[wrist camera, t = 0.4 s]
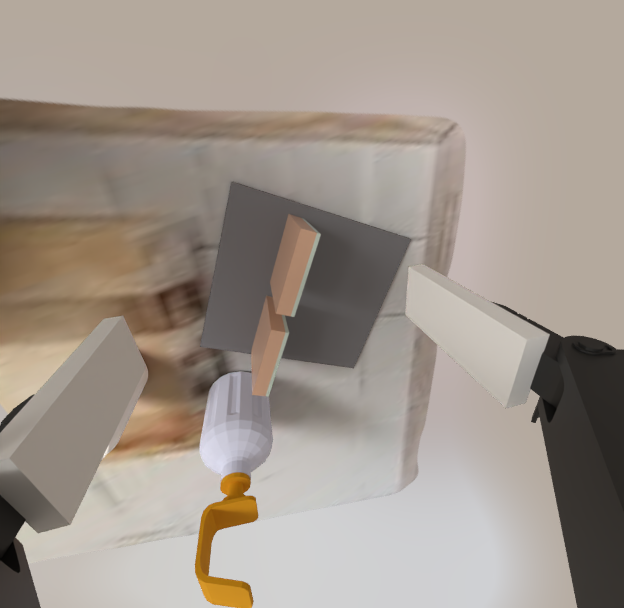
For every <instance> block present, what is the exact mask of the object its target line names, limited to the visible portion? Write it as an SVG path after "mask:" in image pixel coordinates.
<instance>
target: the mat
mask: <svg viewBox="0 0 624 608" xmlns="http://www.w3.org/2000/svg"><path fill="white" fill-rule="evenodd" d="M288 214H291V215H294V216H297V217H300V218H304V219H305V220H306V221H307V222H308V223H309V224H311V225H312V226H313V227H314V228H315V229H316V230H317V231H318V232H319V233H320V234H321V236H320V239H319V242H318V245H317V248H316V251H315V254H314V257H313V261H312V264H311V267H310V270H309V273H308V276H307V279H306V282H305V285H304V289H303V292H302V295H301V298H300V301H299V304H298V307H297V310H296V313H295V316H294V317H291V316H286V315H285V318H286V322H287V326H288V330H289V335H288V338H287V341H286V344H285V347H284V351H283V354H282V357H281V358H285V359H292V360H299V361H306V362H313V363H320V364H327V365H335V366H342V367H349V368H354V366H355V364H356V362H357V359H358V357H359V355H360V353H361V350H362V348H363V346H364V344H365V341H366V339H367V337H368V335H369V332H370V330H371V328H372V326H373V323H374V321H375V319H376V317H377V314H378V312H379V310H380V308H381V305H382V303H383V301H384V299H385V296H386V294H387V292H388V290H389V287H390V285H391V283H392V281H393V278H394V276H395V274H396V272H397V269H398V267H399V265H400V262H401V260H402V258H403V256H404V253H405V251H406V249H407V247H408V244H409V242H410V240H411V239H409V238H407V237H403V236H400V235H397V234H394V233H391V232H388V231H385V230H381V229H378V228H375V227H372V226H369V225H366V224H363V223H360V222H356V221H353V220H350V219H347V218H344V217H341V216H338V215H335V214H331V213H328V212H325V211H322V210H319V209H316V208H313V207H310V206H306V205H303V204H300V203H297V202H294V201H291V200H288V199H285V198H281V197H278V196H275V195H272V194H269V193H266V192H263V191H260V190H256V189H253V188H250V187H247V186H244V185H241V184H238V183H234V182H231V187H230V193H229V198H228V203H227V208H226V214H225V219H224V224H223V229H222V234H221V240H220V245H219V250H218V255H217V261H216V266H215V271H214V276H213V282H212V287H211V292H210V297H209V302H208V308H207V313H206V318H205V323H204V329H203V334H202V339H201V344H200V347H206V348H213V349H220V350H227V351H234V352H242V353H249V354H251V350H252V346H253V343H254V339H255V335H256V332H257V328H258V324H259V321H260V317H261V313H262V310H263V306H264V302H265V299H266V296H270V297H273V296H272V290H271V285H270V280H271V276H272V273H273V269H274V265H275V262H276V258H277V254H278V251H279V247H280V243H281V240H282V236H283V232H284V229H285V225H286V221H287V218H288Z"/></svg>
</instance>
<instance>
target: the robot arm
mask: <svg viewBox="0 0 624 608" xmlns="http://www.w3.org/2000/svg"><path fill="white" fill-rule="evenodd" d="M405 315H406V316H407V317H408V318H409V319H410V320H411V321H412V322H413V323H414V324H416V325H417V326H418V327H419V328H420V329H421V330H422V331H423V332H424V333H425V334H426V335H427V336H428V337H430V338H431V339H432V340H433V341H434V342H435V343H436V344H437V345H438V346H439V347H440V348H442V349H443V351H445V352H446V353H447V354H448V355H449V356H450V357H451V358H452V359H453V360H454V361H455V362H457V364H459V365H460V366H461V367H462V368H463V369H464V370H465V371H466V372H467V373H468V374H469V375H470V376H472V378H474V379H475V380H476V381H477V382H478V383H479V384H480V385H481V386H482V387H483V388H484V389H485V390H486V391H488V392H489V393H490V394H491V395H492V396H493V397H494V398H495V399H496V400H497V401H498V402H499V403H500V404H501V405H503V406H504V407H505V408H509V407H513V406H517V405H521V404H524V403H526V401H527V398H528V395H529V392H530V389H532V390H533V391H534V392H535V393H537V394H538V395H539V396H540V398H539V400H538V403H537V406H536V408H535V411H534V413H533V416H532V421H531V422H533V423H536V420H537V418H538V417H540V421H541V425H542V431H543V436H544V441H545V446H546V451H547V456H548V461H549V466H550V471H551V476H552V482H553V487H554V492H555V496H556V502H557V507H558V511H559V517H560V522H561V527H562V532H563V537H564V542H565V547H566V552H567V557H568V562H569V568H570V573H571V577H572V583H573V587H574V593H575V598H576V603H577V607H578V608H624V350H616V349H615V348H614V347H612V346H611V345H609V344H607V343H605V342H602V341H599V340H597V339H593V338H589V337H584V336H568V337H565V338H563V337H561V336H560V335H558V334H556V333H554V332H552V331H550V330H549V329H547V328H545V327H543V326H541V325H539V324H537V323H536V322H534V321H532V320H530V319H527V318H526V317H524V316H523V315H521V314H517V312H515V311H513V310H511V309H510V308H508V307H506V306H503V305H500V304H497V303H494V302H490V301H488V300H487V299H485V298H483V297H481V296H480V295H478V294H476V293H474V292H472V291H471V290H469V289H467V288H465V287H463V286H462V285H460V284H457V283H456V282H454V281H453V280H451V279H449V278H447V277H445V276H444V275H442V274H440V273H438V272H436V271H434V270H433V269H431V268H429V267H427V266H425V265H424V264H420V265H414V266H409V268H408V283H407V298H406V313H405ZM146 367H147V366H146V364H145V362H144V360H143V358H142V356H141V353H140V351H139V349H138V347H137V345H136V343H135V340H134V338H133V336H132V334H131V332H130V330H129V327H128V325H127V323H126V321H125V319H124V317H123V316H118V317H112V318H106V319H103V320H102V321H101V322H100V323H99V325H98V326H97V327H96V328H95V329H94V330H93V331H92V332H91V333H90V334H89V336H88V337H87V338H86V339H85V340H84V341H83V342H82V343H81V344H80V345H79V347H78V348H77V349H76V350H75V351H74V352H73V353H72V354H71V355H70V356H69V358H68V359H67V360H66V361H65V362H64V363H63V364H62V365H61V366H60V367H59V369H58V370H57V371H56V372H55V373H54V374H53V375H52V376H51V377H50V379H49V380H48V381H47V382H46V383H45V384H44V385H43V386H42V387H41V388H40V390H39V391H38V392H37V393H36V394H34V395H32V396H30V397H29V398H28V399H26V400H25V401H24V402H22V403H21V404H19V405H18V406H17V407H15V408H14V409H13V410H12V411H11V412H10V413H9V414H8V415H7V416H6V418H5V419H4V420H3V421H2V422H1V425H0V608H41V607H40V604H39V600H38V597H37V593H36V590H35V586H34V583H33V580H32V576H31V572H30V569H29V565H28V562H27V559H26V555H25V552H24V548H23V545H22V544H21V543H20V542H19V540H17V539H16V538H15V537H16V535H17V533H18V532H19V530H20V528H21V527H22V525H23V524H24V522H25V521H26V522H27V523H28V524H29V525H30V526H31V527H32V528H33V529H34V530H35V531H36V532H37V533H41V532H45V531H48V530H52V529H56V528H60V527H63V526H67V525H70V524H71V522H72V520H73V518H74V516H75V514H76V512H77V510H78V508H79V506H80V504H81V502H82V500H83V497H84V495H85V493H86V491H87V489H88V487H89V485H90V483H91V481H92V479H93V477H94V475H95V473H96V470H97V468H98V466H99V464H100V462H101V460H102V458H103V456H104V454H105V452H106V450H107V448H108V446H109V443H110V441H111V439H112V437H113V435H114V433H115V431H116V429H117V427H118V425H119V423H120V421H121V419H122V416H123V414H124V412H125V410H126V408H127V406H128V404H129V402H130V400H131V398H132V396H133V394H134V392H135V389H136V387H137V385H138V383H139V381H140V379H141V377H142V375H143V373H144V371H145V369H146Z"/></svg>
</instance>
